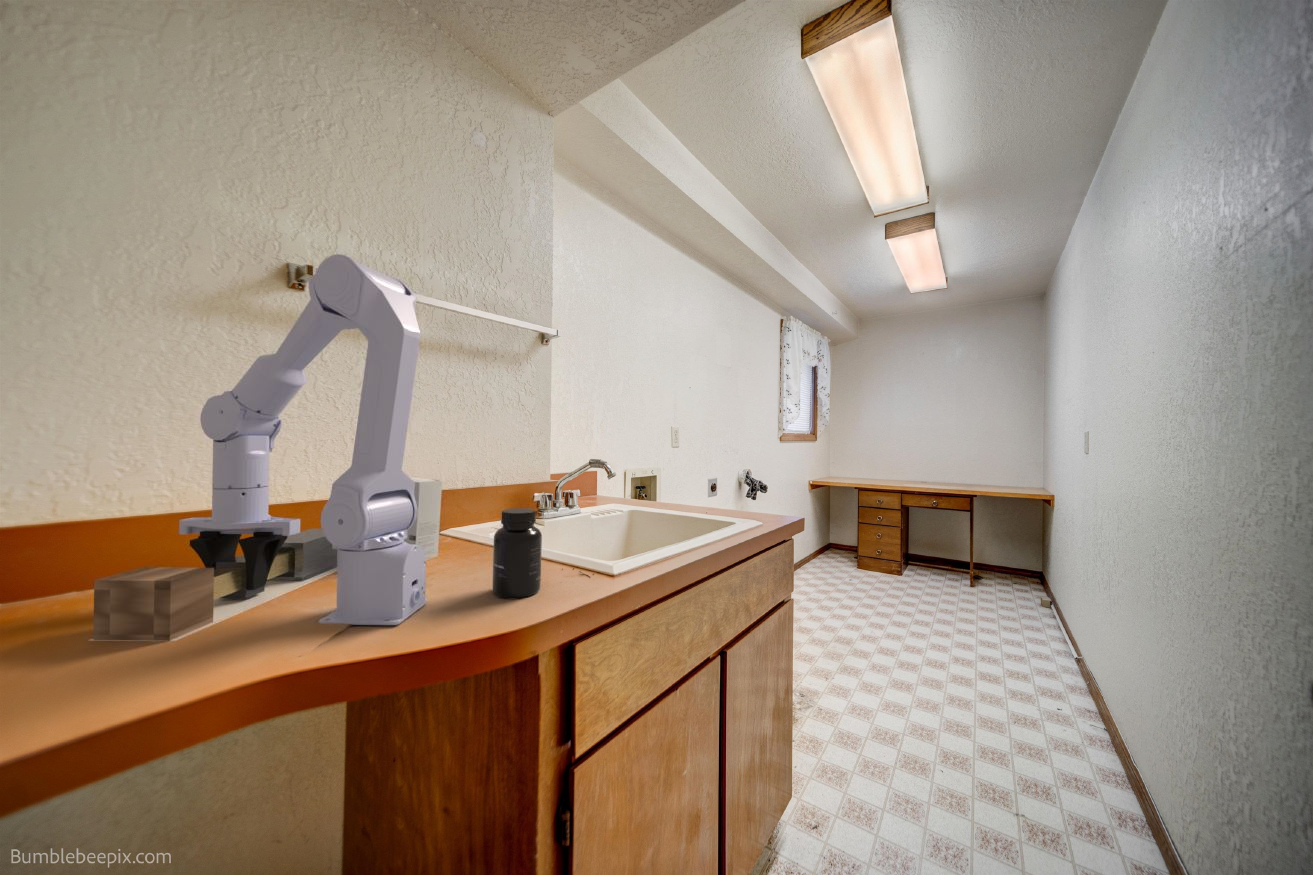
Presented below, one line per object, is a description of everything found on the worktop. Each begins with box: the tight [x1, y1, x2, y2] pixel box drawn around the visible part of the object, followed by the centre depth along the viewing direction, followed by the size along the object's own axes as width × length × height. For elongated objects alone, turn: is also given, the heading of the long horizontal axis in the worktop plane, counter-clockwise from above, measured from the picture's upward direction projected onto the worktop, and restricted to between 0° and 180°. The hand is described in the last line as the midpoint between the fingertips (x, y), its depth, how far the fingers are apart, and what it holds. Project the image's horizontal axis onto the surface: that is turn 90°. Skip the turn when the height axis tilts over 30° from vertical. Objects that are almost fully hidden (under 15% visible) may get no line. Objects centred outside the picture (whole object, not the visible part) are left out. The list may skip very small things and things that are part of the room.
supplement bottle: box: [492, 507, 543, 599], centre depth 69 cm, size 7×7×12 cm
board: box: [88, 567, 337, 642], centre depth 65 cm, size 9×31×1 cm, turn 1°
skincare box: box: [404, 476, 443, 561], centre depth 85 cm, size 8×6×15 cm
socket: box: [92, 566, 214, 642], centre depth 52 cm, size 8×5×6 cm, turn 91°
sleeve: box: [267, 528, 337, 581], centre depth 76 cm, size 6×10×6 cm, turn 1°
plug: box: [214, 547, 295, 600], centre depth 65 cm, size 4×19×5 cm, turn 1°
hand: (239, 587), depth 63 cm, fingers closed on plug, 4 cm apart
